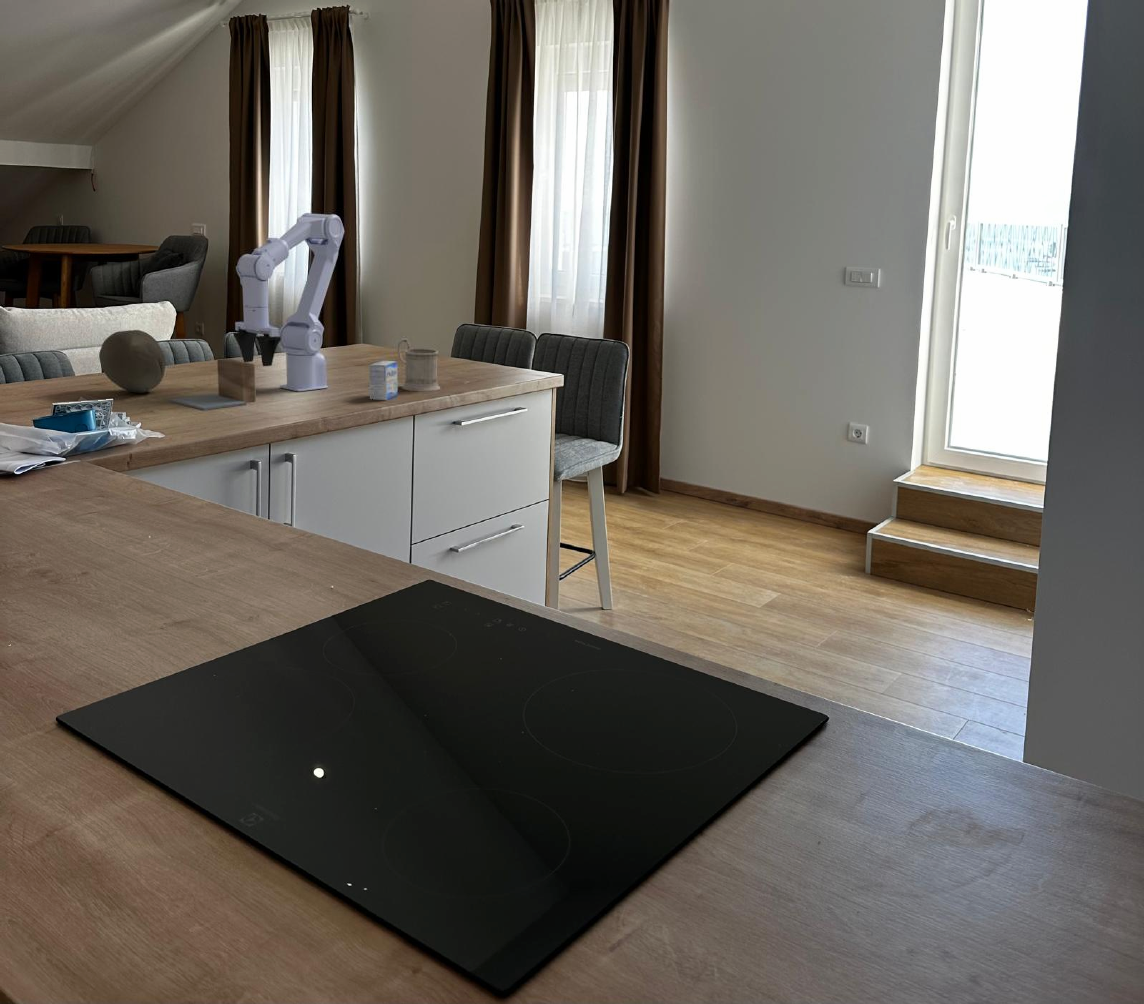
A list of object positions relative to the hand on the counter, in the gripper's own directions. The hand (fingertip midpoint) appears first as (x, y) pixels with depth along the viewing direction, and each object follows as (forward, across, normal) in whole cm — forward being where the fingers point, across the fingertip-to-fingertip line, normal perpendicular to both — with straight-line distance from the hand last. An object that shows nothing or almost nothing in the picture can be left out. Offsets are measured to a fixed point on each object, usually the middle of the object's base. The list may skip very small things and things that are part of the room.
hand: (257, 363), depth 265 cm
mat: (+8, 0, -14) cm, 16 cm away
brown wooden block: (+8, 0, -6) cm, 10 cm away
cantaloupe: (+8, -21, -20) cm, 30 cm away
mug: (+8, +12, +40) cm, 42 cm away
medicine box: (+8, +19, +23) cm, 31 cm away
